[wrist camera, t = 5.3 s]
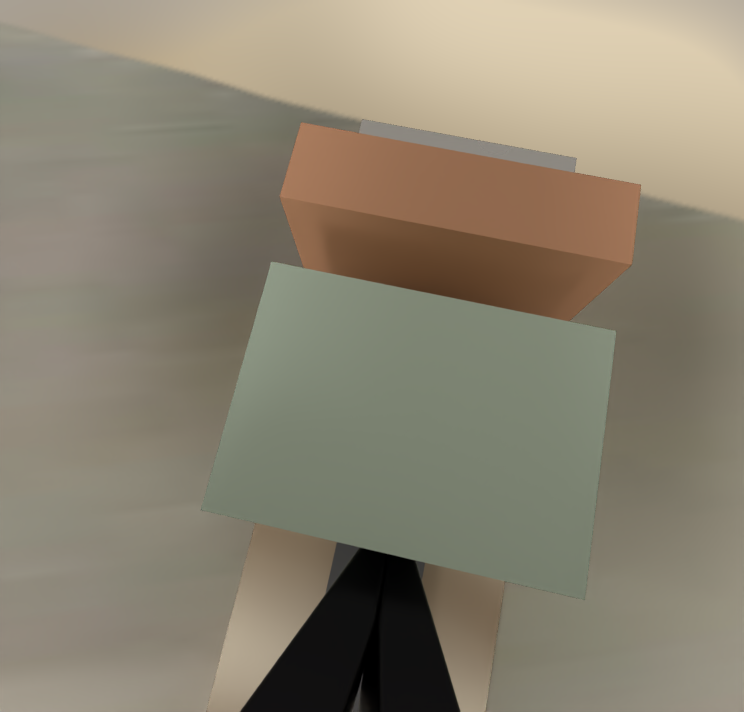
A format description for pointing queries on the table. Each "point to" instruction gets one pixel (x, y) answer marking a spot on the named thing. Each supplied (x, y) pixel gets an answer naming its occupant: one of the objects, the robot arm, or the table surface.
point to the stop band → (457, 222)
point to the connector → (468, 145)
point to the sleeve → (419, 428)
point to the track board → (306, 589)
